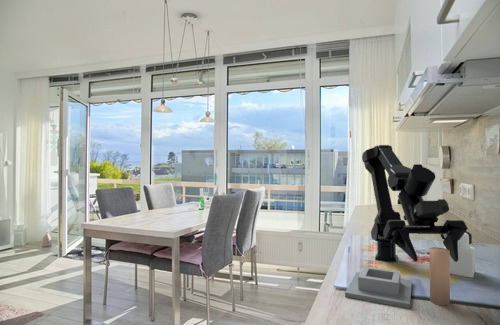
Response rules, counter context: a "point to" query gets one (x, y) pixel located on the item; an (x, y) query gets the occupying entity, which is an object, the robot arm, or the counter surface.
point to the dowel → (440, 276)
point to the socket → (380, 287)
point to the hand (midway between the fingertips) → (436, 260)
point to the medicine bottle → (464, 257)
